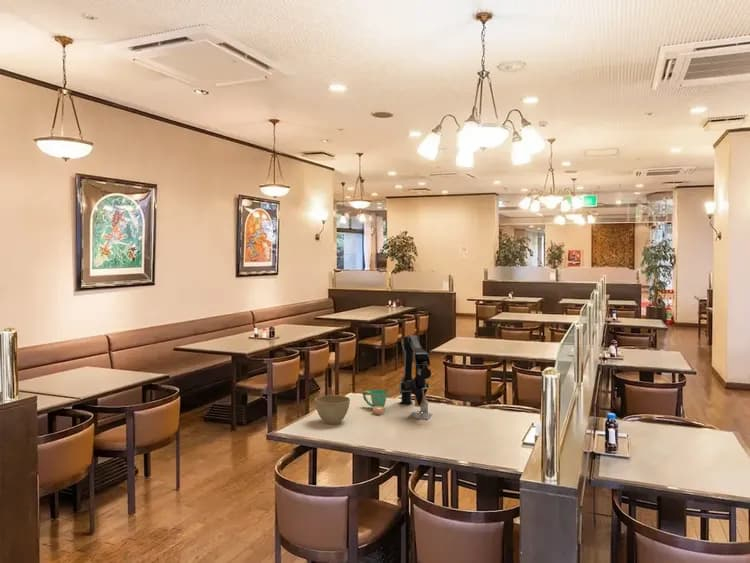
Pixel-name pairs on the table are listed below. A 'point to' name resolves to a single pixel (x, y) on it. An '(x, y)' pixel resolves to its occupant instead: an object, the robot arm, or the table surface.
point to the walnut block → (421, 402)
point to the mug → (376, 397)
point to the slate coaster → (420, 415)
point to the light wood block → (424, 408)
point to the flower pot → (332, 408)
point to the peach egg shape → (378, 410)
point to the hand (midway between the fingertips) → (420, 403)
